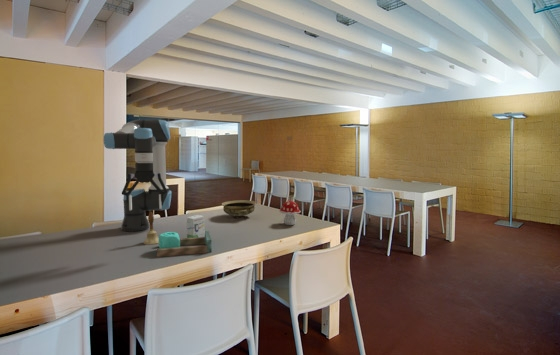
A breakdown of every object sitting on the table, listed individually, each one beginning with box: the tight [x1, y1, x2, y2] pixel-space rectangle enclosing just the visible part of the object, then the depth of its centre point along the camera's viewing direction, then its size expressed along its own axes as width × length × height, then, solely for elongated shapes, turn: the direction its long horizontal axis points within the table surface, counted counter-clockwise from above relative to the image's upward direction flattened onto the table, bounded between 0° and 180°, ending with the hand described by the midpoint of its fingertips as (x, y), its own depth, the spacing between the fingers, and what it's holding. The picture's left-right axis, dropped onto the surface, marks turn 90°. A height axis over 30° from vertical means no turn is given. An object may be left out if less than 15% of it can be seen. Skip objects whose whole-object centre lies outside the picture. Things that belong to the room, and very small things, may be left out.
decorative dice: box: [158, 231, 181, 249], centre depth 152 cm, size 8×8×8 cm
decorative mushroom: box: [278, 200, 302, 226], centre depth 205 cm, size 14×14×15 cm
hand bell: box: [143, 211, 159, 246], centre depth 164 cm, size 8×8×16 cm
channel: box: [156, 230, 213, 258], centre depth 154 cm, size 24×16×6 cm, turn 107°
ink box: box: [186, 214, 206, 238], centre depth 173 cm, size 9×5×12 cm, turn 148°
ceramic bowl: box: [221, 199, 257, 219], centre depth 224 cm, size 30×24×10 cm
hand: (145, 209), depth 147 cm, fingers open, 12 cm apart
